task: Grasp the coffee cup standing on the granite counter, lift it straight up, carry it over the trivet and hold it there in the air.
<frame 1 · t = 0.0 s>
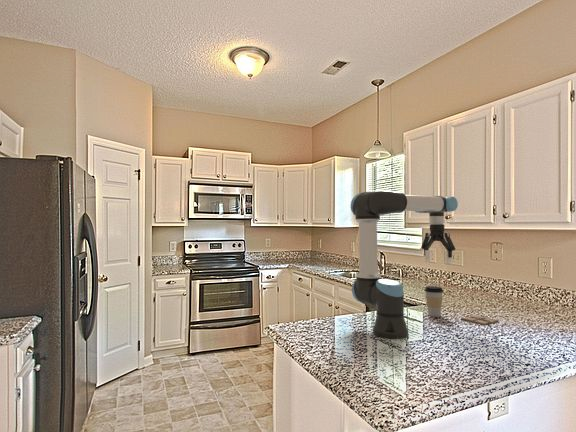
hand: (437, 262, 193), 28 cm above the worktop, fingers open, 13 cm apart
trivet: (479, 320, 177), on the worktop
coffee cup: (434, 315, 189), on the worktop
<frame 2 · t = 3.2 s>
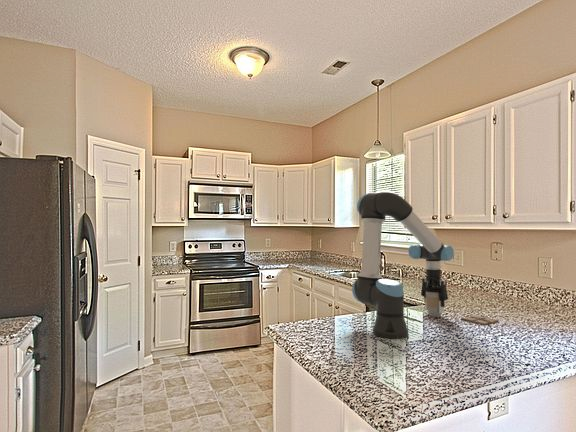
hand: (434, 311, 189), 2 cm above the worktop, fingers closed on coffee cup, 8 cm apart
coffee cup: (434, 315, 189), on the worktop, touching gripper
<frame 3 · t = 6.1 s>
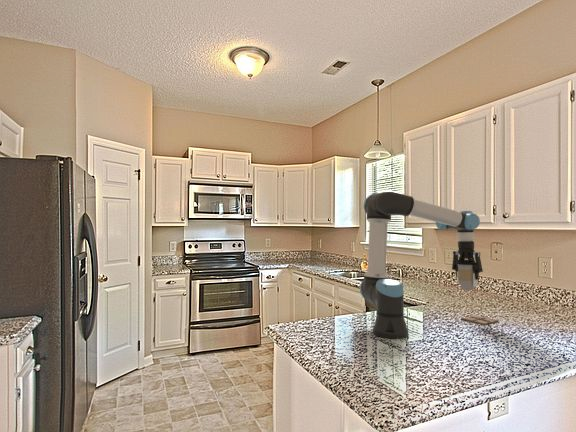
hand: (467, 284, 181), 18 cm above the worktop, fingers closed on coffee cup, 8 cm apart
coffee cup: (467, 289, 181), point 15 cm above the worktop, touching gripper
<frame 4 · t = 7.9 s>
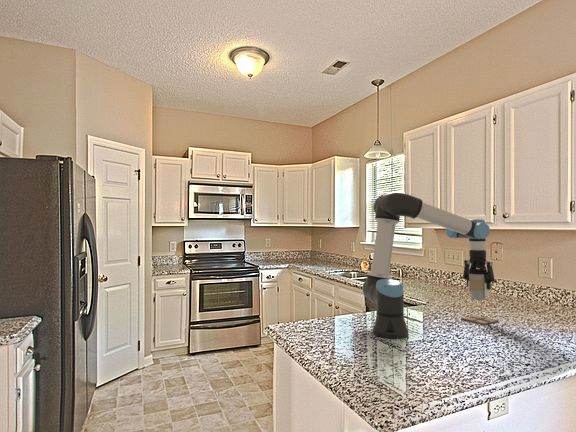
hand: (478, 294, 178), 13 cm above the worktop, fingers closed on coffee cup, 8 cm apart
coffee cup: (478, 299, 178), point 11 cm above the worktop, touching gripper
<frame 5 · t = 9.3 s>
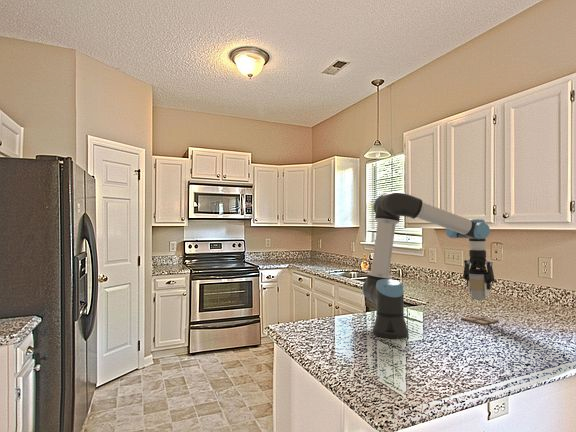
hand: (478, 294, 178), 13 cm above the worktop, fingers closed on coffee cup, 8 cm apart
coffee cup: (478, 299, 178), point 11 cm above the worktop, touching gripper
at the end: the gripper is holding coffee cup; coffee cup point 10.7 cm above the worktop; coffee cup 0.1 cm from the trivet (horizontally) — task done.
